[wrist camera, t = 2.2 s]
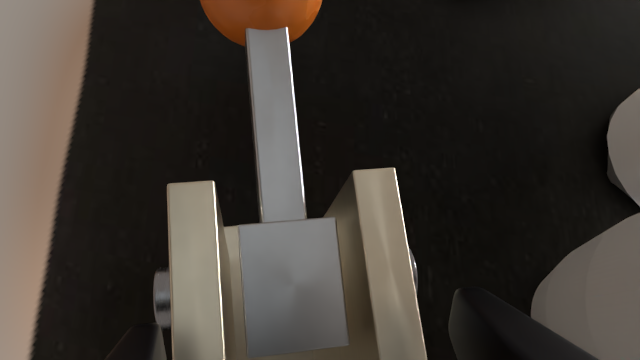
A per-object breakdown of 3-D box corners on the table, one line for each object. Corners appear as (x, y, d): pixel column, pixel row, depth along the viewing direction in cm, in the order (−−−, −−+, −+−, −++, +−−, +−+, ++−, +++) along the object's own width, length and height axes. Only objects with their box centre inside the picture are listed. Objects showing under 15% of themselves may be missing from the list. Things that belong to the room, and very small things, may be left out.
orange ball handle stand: (193, 234, 22) (139, 126, 11) (328, 223, 23) (407, 112, 12) (201, 408, 20) (146, 494, 9) (349, 387, 21) (466, 440, 10)
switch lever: (198, -33, 15) (186, -122, 12) (308, -33, 16) (326, -117, 13) (222, 347, 13) (216, 366, 10) (350, 332, 14) (384, 344, 10)
